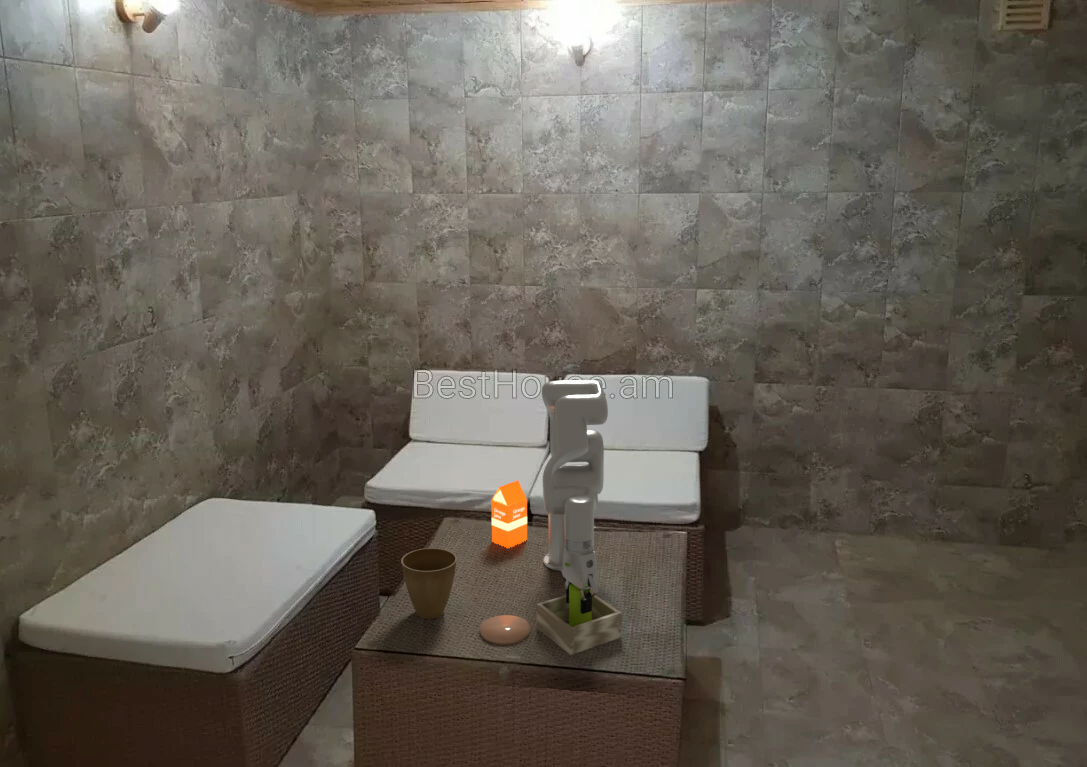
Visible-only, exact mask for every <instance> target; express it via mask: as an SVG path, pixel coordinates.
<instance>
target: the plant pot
mask: <svg viewBox="0 0 1087 767" xmlns="http://www.w3.org/2000/svg"><path fill="white" fill-rule="evenodd" d="M457 560H458V558H457V556H456V554H454V553H453V552H452V551H450V550H447V549H443V548H436V547H431V548H430V547H427V548H420V549H416V550H412V551H410V552H408V553H406V554H404V555H403V556H402V558H401V562H400V563H401V567H402V573H403V578H404V582H405V585H406V586H405V587H406V588H407V592H408V596H409V599H410V601H411V603H412V606H413V608H414V610H415V612H416V615H417V616H418V617H419V618H421V619H427V620H431V619H437V618H439V617H441V616H442V615H443V614H444V612H445V610H446V607H447V604H448V601H449V598H450V595H451V592H452V588H453V583H454V579H455V578H454V577H455V574H456V573H455V572H456V567H457Z"/></svg>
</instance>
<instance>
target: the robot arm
mask: <svg viewBox="0 0 1087 767" xmlns="http://www.w3.org/2000/svg"><path fill="white" fill-rule="evenodd" d="M541 397H542V402H543V403H544V406H545V407H546V410H547V413H548V416H549V443H550V445H549V448H550V449H549V450H550V456H551V457H550V458H549V459H548V462H547V463H546V465H545V467H544V470H543V473H542V499H543V506H544V510H545V511H546V512H547V514H548V553H547V554H545V556H543V564H544V566H545V567H546V568H548V569H551V570H554V571H558V572H561V575H562V576H563V577H562V578H563V580H564V588H565V595H566V603H569V585H570V584H574V585H575V586H577V587H578V588H580V590H581V595H582V599H581V613H582V614H584V613H587V612H590V611H592V598H593V596H595V595H596V594H598V593H599V589H598V588H597V586H598V584H599V583H598V581H599V579H598V575H599V574H598V562H597V556H596V551H595V550H594V549H595V548H594V547H595V540H594V539H595V535H594V534H595V530H594V529H595V511H596V508H597V507H598V503H599V497H598V495H601V493H602V492H603V490H604V480H605V479H604V477H605V476H604V475H605V474H604V473H605V472H604V471H605V469H604V468H605V466H604V464H605V463H604V462H605V457H604V456H605V454H604V453H605V448H604V447H605V445H604V440H603V436H602V434H601V433H600V432H599V431H597V430H594V429H588V427H587V426H595V425H596V426H597V425H604V424H605V423H606V422H607V420H608V414H609V409H608V401H607V397H606V394H605V392H604V388H603V386H602V383H601V382H600V381H598V380H593V379H581V380H580V379H577V380H576V379H573V380H570V379H569V380H567V379H565V380H551V381H547V382H545V383H544V384H543V385H542V388H541ZM568 463H571V464H568ZM572 463H577V464H572ZM578 463H579V464H578ZM580 463H581V464H580ZM582 463H583V464H582ZM565 563H567V564H569V565H570V567H566V566H565ZM586 585H588V586H586ZM585 586H586V587H585ZM587 589H588V593H587V594H585V590H587Z"/></svg>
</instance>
